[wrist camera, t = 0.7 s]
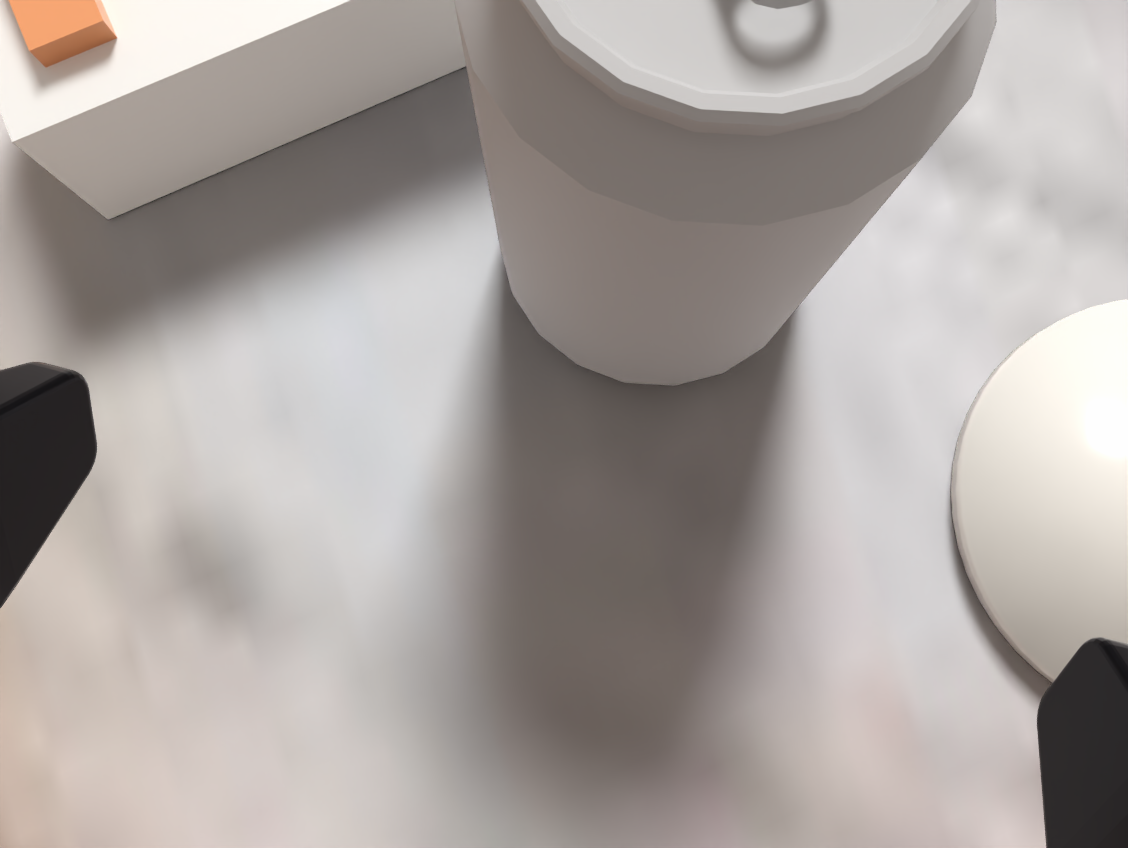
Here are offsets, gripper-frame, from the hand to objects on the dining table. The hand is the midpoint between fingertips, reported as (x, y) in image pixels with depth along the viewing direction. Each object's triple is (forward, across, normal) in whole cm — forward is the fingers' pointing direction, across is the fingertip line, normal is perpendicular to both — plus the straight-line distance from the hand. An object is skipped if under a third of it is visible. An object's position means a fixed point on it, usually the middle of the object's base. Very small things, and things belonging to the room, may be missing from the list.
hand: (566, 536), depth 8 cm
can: (+15, 0, +4) cm, 16 cm away
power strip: (+18, +10, +1) cm, 20 cm away
